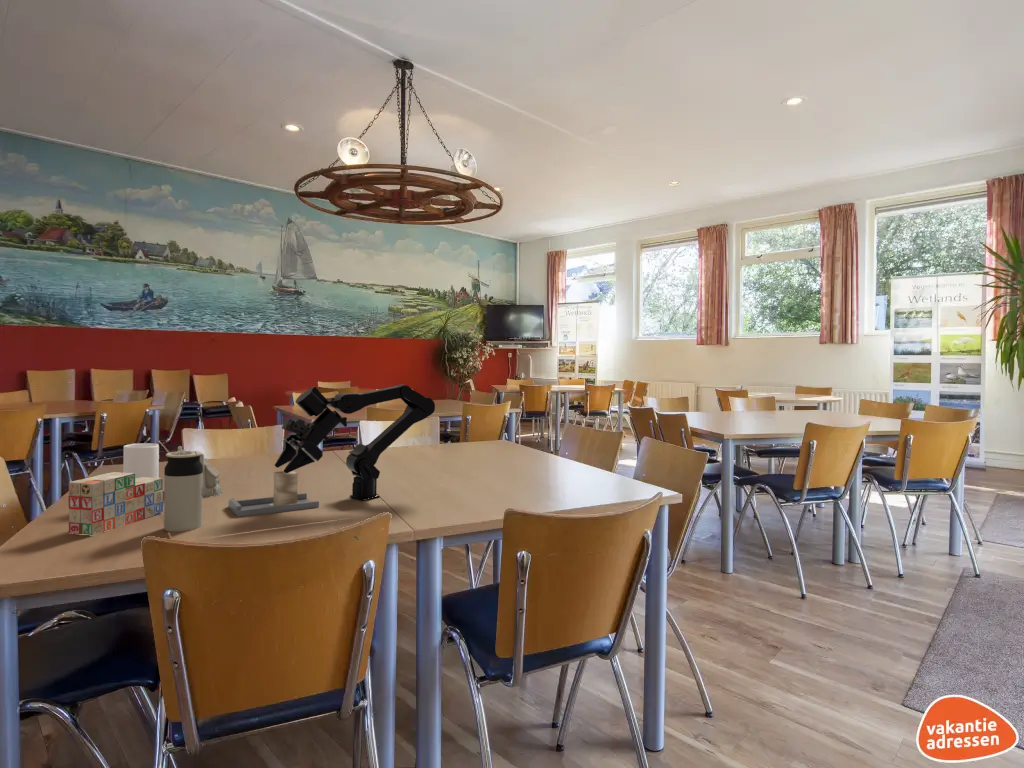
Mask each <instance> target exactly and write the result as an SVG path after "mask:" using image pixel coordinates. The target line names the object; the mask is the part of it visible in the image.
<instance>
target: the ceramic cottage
mask: <svg viewBox="0 0 1024 768" xmlns="http://www.w3.org/2000/svg"><path fill="white" fill-rule="evenodd" d="M182 447H183V446H181V445H179V446H178V447H177V451H186V450H185V449H183V448H182ZM200 462H201V464H202V465H203V497H204V498H211V497H210V496H213V497H215V496H214V495H217V496H219V495H218V494H220V493H221V492H222V491H223V487H222V486H220V478H219V477H220V475H221V473H220V471H218V470H217V469H216V468H215V467H214V466H213V465H212V464H211V463H210V460H208V458H206V457H205V454H204V453H202V454H201V456H200ZM222 493H223V492H222ZM220 495H221V494H220Z"/></svg>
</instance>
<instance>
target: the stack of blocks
mask: <svg viewBox="0 0 1024 768" xmlns="http://www.w3.org/2000/svg"><path fill="white" fill-rule="evenodd" d="M163 481H164V480H163V477H162V478H161V477H159V478H149V477H140V478H136V479H135V473H123V472H119V471H118V472H117V471H112V472H107V473H101V474H98V475H94V476H90V477H86V478H82V479H77V480H73V481H69V482H68V534H69V533H71V534H72V533H73V534H89V535H94V534H97V533H100V532H104V531H107V530H111V529H114V528H117V529H119V528H118V527H120V528H122V527H121V526H123V527H125V526H128V525H131V524H134V523H137V522H139V521H143V520H145V519H149V518H152V517H155V516H157V515H161V514H162V513H164V489H163V488H164V487H163V484H164V483H163ZM136 521H137V522H136ZM133 522H134V523H133ZM130 523H131V524H130ZM127 524H128V525H127ZM124 525H125V526H124ZM114 530H115V529H114ZM111 531H112V530H111Z"/></svg>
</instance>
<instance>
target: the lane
mask: <svg viewBox="0 0 1024 768" xmlns="http://www.w3.org/2000/svg"><path fill="white" fill-rule="evenodd" d="M307 497H308V496H307V492H301V493H297V503H294V504H286V505H277V506H275V505H274V495H272V496H267V497H264V496H263V497H255V498H247V499H239V500H238V499H237V500H236V499H235V498H234V497H231V498H229V500H228V508H229V509H230V511H231V512H232V513H233V514H235V516H236V517H238V518H242V517H243V518H244V517H251V516H257V515H267V514H273V513H275V514H276V513H281V512H282V513H283V512H289V511H298V510H306V509H315V508H319V507H320V501H319V500H314V501H311V500H309V499H308V498H307Z"/></svg>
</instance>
